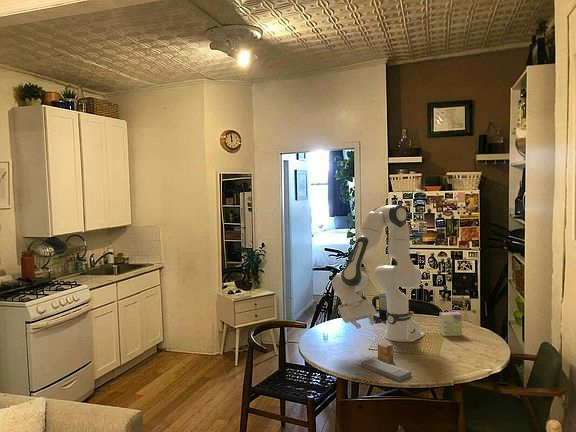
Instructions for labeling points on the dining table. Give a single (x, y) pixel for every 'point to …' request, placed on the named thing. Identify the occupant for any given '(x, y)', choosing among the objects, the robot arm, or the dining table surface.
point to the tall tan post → (385, 352)
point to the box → (450, 323)
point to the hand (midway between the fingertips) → (366, 326)
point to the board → (386, 369)
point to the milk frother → (380, 307)
